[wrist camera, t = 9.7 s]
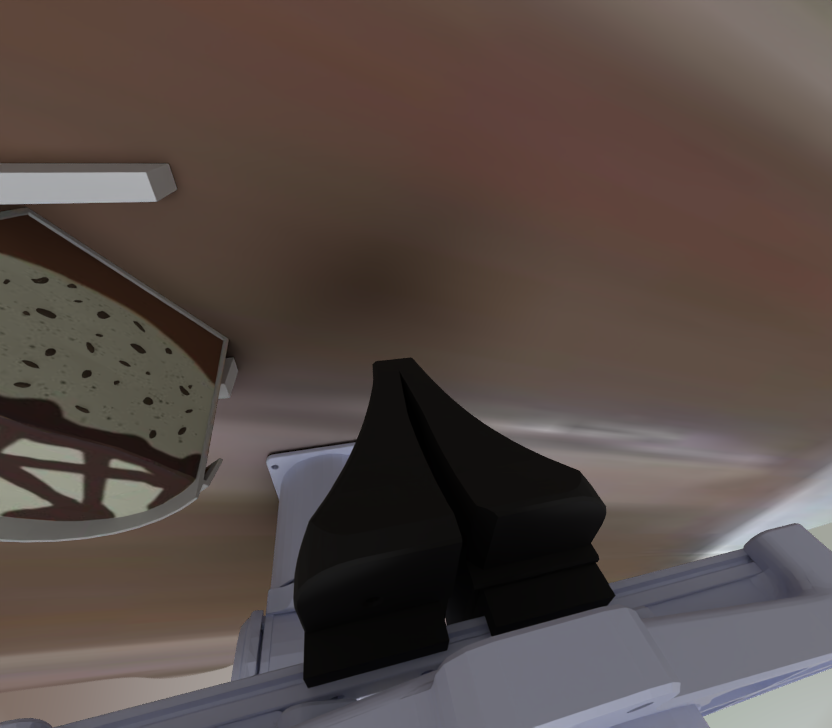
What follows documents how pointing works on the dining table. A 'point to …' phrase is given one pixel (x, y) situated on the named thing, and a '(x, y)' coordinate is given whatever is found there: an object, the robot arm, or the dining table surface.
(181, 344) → the food container
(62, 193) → the grey flat tray
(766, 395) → the dining table surface
